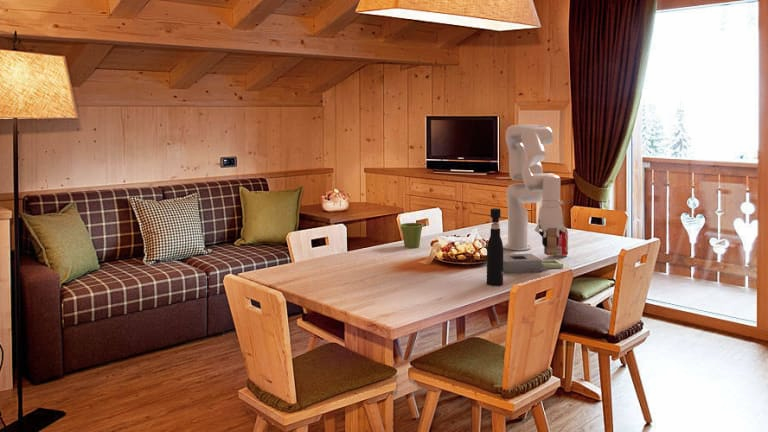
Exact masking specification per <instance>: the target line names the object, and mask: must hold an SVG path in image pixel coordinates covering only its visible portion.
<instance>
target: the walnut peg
mask: <svg viewBox="0 0 768 432" xmlns="http://www.w3.org/2000/svg"><path fill="white" fill-rule="evenodd" d="M546 238H547V247H545V246H543V247H544V248H543V250H544V251H543V254H544V255H546V256H553V255H556V241H557V228H548V230H547V234H546Z"/></svg>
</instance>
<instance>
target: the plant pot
mask: <svg viewBox="0 0 768 432" xmlns="http://www.w3.org/2000/svg"><path fill="white" fill-rule="evenodd" d="M399 226H400V229H401V230H400V231H401V233H402V239H403V244H404V245H403V246H404V248H406V249H408V248H410V249H417V248H419V247H420V244H421V238H422V230H423V226H424V224H423V223H420V222H406V223H405V222H404V223H400V224H399Z"/></svg>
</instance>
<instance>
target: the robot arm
mask: <svg viewBox="0 0 768 432" xmlns="http://www.w3.org/2000/svg"><path fill="white" fill-rule="evenodd" d="M505 142H506V146H507V150H508V169H509V170H508V171H509V177H510V179H511V180H512V181H519V182H520V181H523V182H521V183H513V184H510V185H508V186H507V188H506V191H505V193H506V201H507V244H504V245H503V249H506V250H510V251H528V250H530V249H531V247H532V246H531V245H530V244H528V237H529V236H528V235H529V231H528V229H529V211H528V209H527V208H526V207H525V205H524V204H537V203H540V202H541V206H540V207H539V210H538V211H539V212H538V217H537V225H536V227H535V229H534V231H535V232H536V233H538V234H539V235H540V236H541V238H542V239H541V243H542V245H543V247H544V246H545V247H547V238H546V234H547V230H548V228H557V241H556V246H557V244H558V237H559V236H560V235H561V234H562V232H564V231H566V228H567V227H566V226H565V225H564V216H563V210H562V207H561V205H564V201H563V200H561V177H560V176H559V175H558V174H557V175H556V174H555V173H550V172H549V173H548V172H545V173H544V170H543V165H542V163H541V162H542V161H544V160H545V158H546V156H547V152H546V150H545V147H544V146H550V145H552V144H553V142H554V133H553V131H552V129H551V128H550V127H549V126H545V125H543V124H513V125H510V126H508V127H507V129H506V130H505Z"/></svg>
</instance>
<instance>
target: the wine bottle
mask: <svg viewBox="0 0 768 432" xmlns="http://www.w3.org/2000/svg"><path fill="white" fill-rule="evenodd" d="M501 216H502V215H501V208H496V207H495V208H490V218H491V224H490V225H491V228H490V233H489V235H490V236H489V239H488V242H487V247H486V285H487V286H490V287H501V286H503V285H504V273H503V255H504V245H503V241H502V236H501V228H500V218H501Z"/></svg>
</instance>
